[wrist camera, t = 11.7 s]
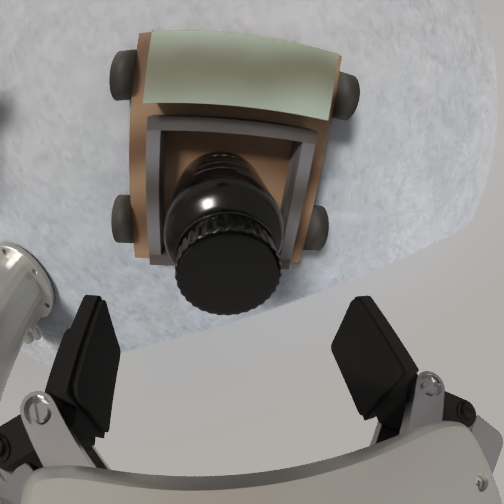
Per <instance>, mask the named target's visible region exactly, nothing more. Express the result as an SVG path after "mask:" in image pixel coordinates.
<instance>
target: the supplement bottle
mask: <svg viewBox="0 0 504 504" xmlns="http://www.w3.org/2000/svg"><path fill="white" fill-rule="evenodd" d="M163 238H164V244H165V248H166V251H167V254H168V256H169V258H170V260H171V261H172V263H173V264H174V266H175V278H176V280H177V286H178V288H179V289H180V291H181V294H182V295H183V296H185V298H186V300H187V301H188V302H190V303H192V305H193V306H195V307H198V308H199V309H200V310H202V311H207V312H208V313H212V314H214V313H215V314H217V315H232V314H240V313H242V312H248V311H249V310H251V309H255V308H256V307H257V306H258V305H261V304H263V303H264V302H265V300H267V299H268V298H270V296H271V294H272V293H273V292H275V290H276V287H277V285H278V284H279V278H280V277H281V267H282V264H281V262H280V255H279V253H280V250H281V247H282V244H283V240H284V222H283V218H282V214H281V212H280V209H279V207H278V205H277V203H276V201H275V200H274V198H273V197H272V195H271V193H270V192H269V190H268V189H267V187H266V185H265V184H264V182H263V181H262V179H261V178H260V176H259V174H258V173H257V172H256V170H255V169H254V167H253V166H252V165H251V164H250V163H249V162H248V161H247V160H245V159H244V158H242V157H241V156H239V155H236V154H234V153H230V152H224V151H216V152H210V153H207V154H204V155H202V156H199V157H198V158H196V159H195V160H193V161H192V162H191V163H190V164H189V165H188V166H187V167H186V168H185V170H184V171H183V173H182V175H181V177H180V179H179V181H178V184H177V186H176V189H175V192H174V195H173V197H172V200H171V203H170V206H169V209H168V212H167V215H166V218H165V223H164V230H163Z"/></svg>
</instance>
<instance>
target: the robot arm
mask: <svg viewBox="0 0 504 504" xmlns="http://www.w3.org/2000/svg"><path fill="white" fill-rule="evenodd" d="M53 305H54V292H53V288H52V285H51V282H50V280H49V278H48V276H47V274H46V273H45V271H44V270H43V268H42V267H41V265H40V264H39V263H38V262H37V261H36V260H35V259H34V258H33V257H32V256H31V255H30V254H29V253H28V252H27V251H25V250H24V249H22V248H21V247H19V246H17V245H14V244H11V243H0V400H1V397H2V394H3V391H4V388H5V385H6V382H7V380H8V377H9V375H10V372H11V369H12V367H13V365H14V362H15V360H16V358H17V355H18V353H19V351H20V348H21V346H22V344H23V342H24V341H25V343H26V344H30V343H32V342H33V340H34V339H35V340H39V339H40V338H41V334H40V332H39V330H38V328H37V327H36V326H37V323H38V321H39V319H43V318H45V317H47V316H48V315H49V313H50V312H51V310H52V308H53ZM331 349H332V353H333V355H334V357H335V360H336V361H337V364H338V366H339V368H340V371H341V373H342V375H343V378H344V379H345V382H346V384H347V386H348V389H349V391H350V394H351V396H352V398H353V401H354V403H355V405H356V408H357V410H358V412H359V414H360V415H363V417H364V420H368V419H370V418H374V417H376V416H377V418H378V423H377V426H376V429H375V433H374V435H373V439H372V441H371V444H370V446H369V447H366V448H363V449H360V450H357V451H354V452H351V453H348V454H344V455H341V456H338V457H334V458H330V459H326V460H322V461H318V462H315V463H310V464H306V465H301V466H296V467H291V468H285V469H280V470H273V471H267V472H259V473H251V474H240V475H228V476H205V477H204V476H203V477H186V476H163V475H148V474H137V473H129V472H121V471H114V470H111V469H110V468H109V466H108V465H107V464H106V462H105V461H104V460H103V459H102V457H101V455H100V454H99V453H98V451H97V450H96V448H95V447H94V444H95V437H100V438H104V435H105V432H108V431H109V427H110V426H109V425H110V418H111V410H112V401H113V395H114V389H115V382H116V376H117V370H118V365H119V360H120V347H119V344H118V341H117V338H116V335H115V331H114V328H113V325H112V321H111V318H110V314H109V311H108V307H107V304H106V301H105V300H102V299H101V297H100V296H94V295H85V296H84V298H83V300H82V302H81V305H80V307H79V309H78V312H77V314H76V316H75V319H74V321H73V324H72V326H71V329H67V330H66V332H65V334H64V336H63V338H62V341H61V344H60V346H59V349H58V352H57V355H56V358H55V360H54V363H53V366H52V369H51V373H50V376H49V379H48V382H47V386H46V389H45V392H42V391H35V392H31V393H29V394H28V395H27V396H25V398H24V399H23V401H22V403H21V407H20V415H18V416H17V417H15V418H13V419H12V420H10V421H9V422H7V423H5V424H3V425H2V426H0V504H502V502H501V498H500V495H499V492H498V489H497V486H496V483H495V480H494V477H493V475H492V473H493V471H494V468H495V466H496V463H497V460H498V457H499V454H500V452H501V448H502V444H503V439H502V436H501V434H500V433H499V432H498V431H497V430H496V429H495V428H493V427H492V426H491V425H490V424H489V423H487V422H486V421H485V420H484V419H482V418H481V417H480V416H478V415H477V416H476V412H475V409H474V407H473V405H472V404H471V403H470V402H468V401H467V400H464V399H462V398H459V397H457V396H455V395H453V394H450V393H448V392H446V391H445V389H444V384H443V381H442V380H441V379H440V377H439V376H437V375H436V374H435V373H433V372H429V371H425V372H422V373H420V374H419V375H417V372H418V370H419V369H418V368H417V366H416V364H415V363H414V361H413V359H412V358H411V356H410V355H409V353H408V351H407V350H406V348H405V347H404V345H403V344H402V342H401V341H400V339H399V337H398V336H397V334H396V333H395V331H394V330H393V329H392V327H391V325H390V324H389V322H388V321H387V319H386V318H385V317H384V315H383V314H382V312H381V311H380V309H379V308H378V307H377V305H376V303H375V302H374V301H373V299H372V298H371V297H370V296H359V297H355V299H354V300H352V301H351V303H350V305H349V308H348V310H347V312H346V314H345V316H344V319H343V321H342V323H341V325H340V327H339V330H338V332H337V334H336V336H335V338H334V340H333V342H332V345H331Z"/></svg>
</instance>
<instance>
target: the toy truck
mask: <svg viewBox="0 0 504 504" xmlns="http://www.w3.org/2000/svg"><path fill="white" fill-rule="evenodd" d="M341 57H342V56H340V55H339V54H336V53H333V52H330V51H326V50H323V49H319V48H315V47H312V46H308V45H303V44H299V43H295V42H290V41H285V40H280V39H275V38H269V37H263V36H256V35H249V34H241V33H231V32H219V31H199V30H168V31H152V32H148V33H139V39H138V45H137V50H127V51H119V52H118V53H117V54H116V55H115V57H114V59H113V62H112V65H111V70H110V91H111V94H112V97H113V98H114V100H131V114H130V143H129V170H130V195H118V196H117V198H116V199H115V202H114V205H113V210H112V233H113V237H114V239H115V241H116V242H118V243H134V250H135V257H138V258H150V265H174V264H173V263H172V261H171V260H170V258H169V256H168V254H167V251H166V248H165V244H164V238H163V230H164V223H165V218H166V215H167V212H168V209H169V206H170V203H171V200H172V197H173V195H174V192H175V189H176V186H177V184H178V181H179V179H180V177H181V175H182V173H183V171H184V170H185V168H186V167H187V166H188V165H189V164H190V163H191V162H192V161H193V160H195V159H196V158H198V157H199V156H202V155H204V154H207V153H210V152H216V151H224V152H230V153H234V154H236V155H239V156H241V157H242V158H244V159H245V160H247V161H248V162H249V163H250V164H251V165H252V166H253V167H254V169H255V170H256V172H257V173H258V174H259V176H260V178H261V179H262V181H263V182H264V184H265V185H266V187H267V189H268V190H269V192H270V193H271V195H272V197H273V198H274V200H275V201H276V203H277V205H278V207H279V209H280V212H281V214H282V218H283V222H284V240H283V244H282V247H281V250H280V253H279V255H280V262H281V264H282V267H281V269H289V265H290V263H300V259H301V255H302V251H303V250H321V249H322V248H323V246H324V245H325V243H326V240H327V236H328V229H329V222H328V215H327V212H326V210H325V208H324V207H323V206H318V205H314V201H315V197H316V192H317V188H318V183H319V179H320V174H321V169H322V165H323V160H324V155H325V150H326V145H327V140H328V135H329V129H330V124H331V118H336V119H340V120H348V119H349V118H350V117H351V116H352V115H353V114H354V112H355V110H356V108H357V105H358V102H359V96H360V87H359V83H358V80H357V78H356V77H355V76H353V75H350V74H346V73H343V72H340V71H339V70H340V64H341Z"/></svg>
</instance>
